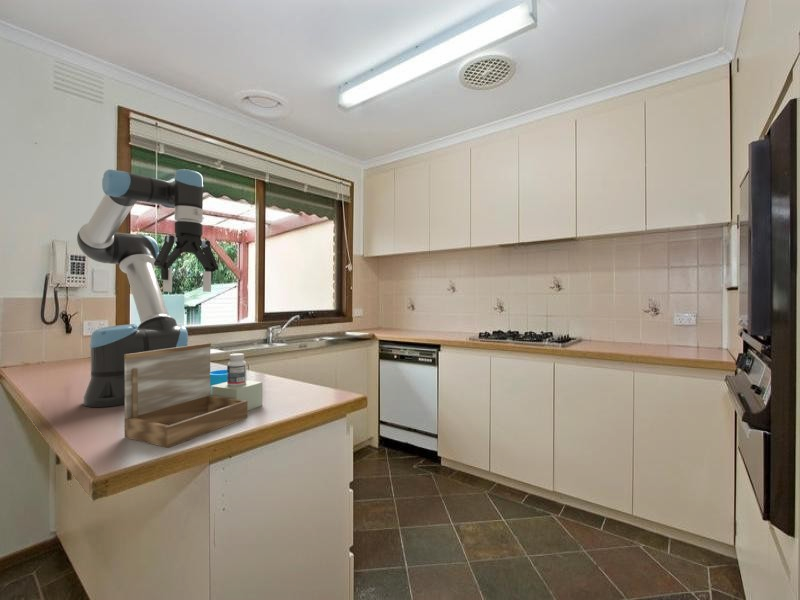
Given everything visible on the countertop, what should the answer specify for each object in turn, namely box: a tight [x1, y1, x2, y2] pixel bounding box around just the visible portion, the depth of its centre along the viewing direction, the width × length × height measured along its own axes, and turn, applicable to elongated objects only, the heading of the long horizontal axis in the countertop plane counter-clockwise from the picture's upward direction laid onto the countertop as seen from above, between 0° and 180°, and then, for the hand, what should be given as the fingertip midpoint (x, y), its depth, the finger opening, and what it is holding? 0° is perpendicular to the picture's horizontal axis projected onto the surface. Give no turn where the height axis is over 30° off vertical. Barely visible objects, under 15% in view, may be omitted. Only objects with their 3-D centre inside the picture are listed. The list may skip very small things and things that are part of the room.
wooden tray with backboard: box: [124, 342, 249, 449], centre depth 98 cm, size 15×23×20 cm, turn 157°
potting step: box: [211, 379, 263, 411], centre depth 115 cm, size 10×10×7 cm
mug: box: [210, 369, 227, 395], centre depth 128 cm, size 12×8×8 cm
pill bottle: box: [226, 352, 247, 386], centre depth 114 cm, size 5×5×9 cm
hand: (188, 291), depth 119 cm, fingers open, 13 cm apart
